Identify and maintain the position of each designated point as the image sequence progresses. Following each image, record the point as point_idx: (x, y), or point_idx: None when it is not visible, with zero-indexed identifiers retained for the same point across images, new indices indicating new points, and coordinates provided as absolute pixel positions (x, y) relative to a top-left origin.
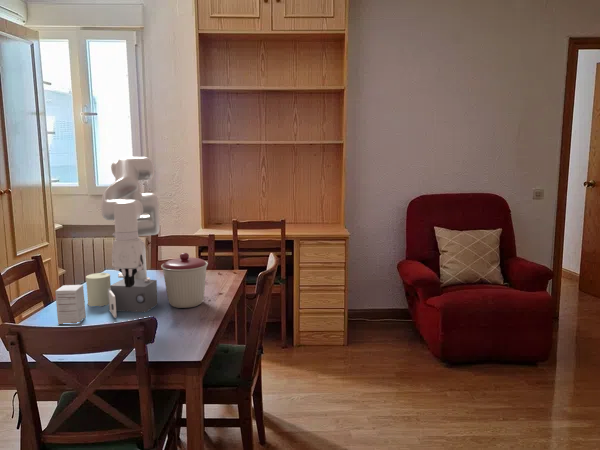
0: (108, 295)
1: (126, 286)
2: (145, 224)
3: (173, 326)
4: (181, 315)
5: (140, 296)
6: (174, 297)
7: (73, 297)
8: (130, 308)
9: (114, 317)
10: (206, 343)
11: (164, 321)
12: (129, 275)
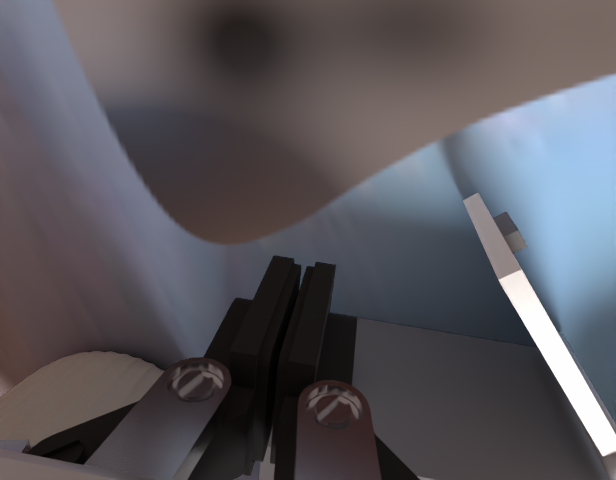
0: (609, 417)
1: (319, 264)
2: None
3: (5, 46)
4: (67, 248)
5: None
6: (110, 393)
7: None
8: (410, 338)
9: (477, 193)
10: None
11: (110, 143)
12: (222, 382)
